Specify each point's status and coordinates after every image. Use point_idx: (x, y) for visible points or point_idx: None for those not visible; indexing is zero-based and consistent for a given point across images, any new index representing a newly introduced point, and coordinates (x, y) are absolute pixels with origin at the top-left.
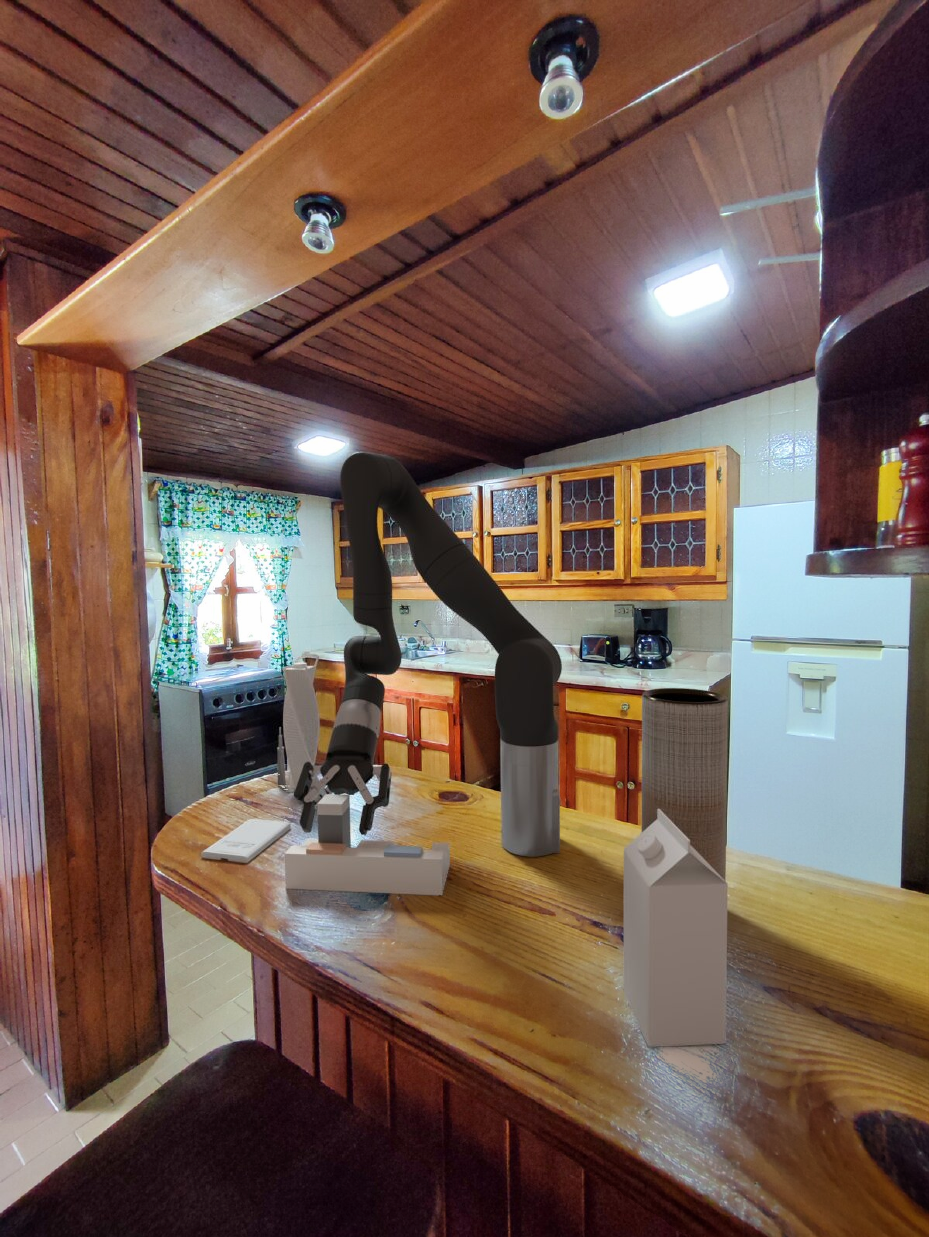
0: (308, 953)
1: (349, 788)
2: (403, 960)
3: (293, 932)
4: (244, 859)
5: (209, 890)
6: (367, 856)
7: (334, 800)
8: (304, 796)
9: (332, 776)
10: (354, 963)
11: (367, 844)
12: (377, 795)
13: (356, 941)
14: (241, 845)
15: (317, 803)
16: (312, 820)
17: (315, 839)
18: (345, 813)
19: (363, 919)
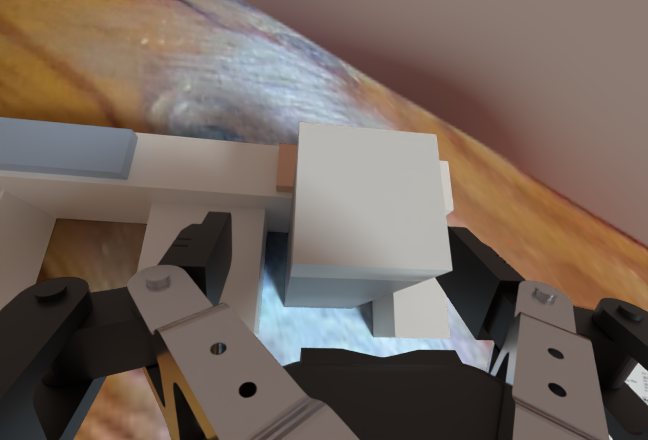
0: (285, 30)
1: (316, 351)
2: (125, 5)
3: (329, 74)
4: None
5: (556, 196)
6: (192, 138)
7: (360, 175)
8: (582, 325)
9: (520, 403)
10: (206, 7)
11: (223, 297)
12: (93, 329)
13: (212, 48)
14: (639, 384)
15: (436, 136)
16: (452, 290)
17: (418, 329)
18: (293, 206)
19: (209, 100)
